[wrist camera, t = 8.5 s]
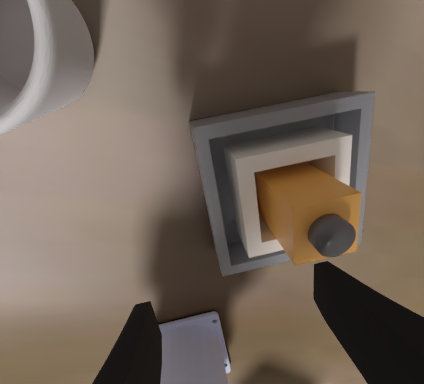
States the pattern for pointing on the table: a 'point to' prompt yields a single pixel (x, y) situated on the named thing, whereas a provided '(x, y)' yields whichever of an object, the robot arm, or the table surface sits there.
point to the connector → (308, 211)
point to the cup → (41, 59)
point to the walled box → (276, 165)
